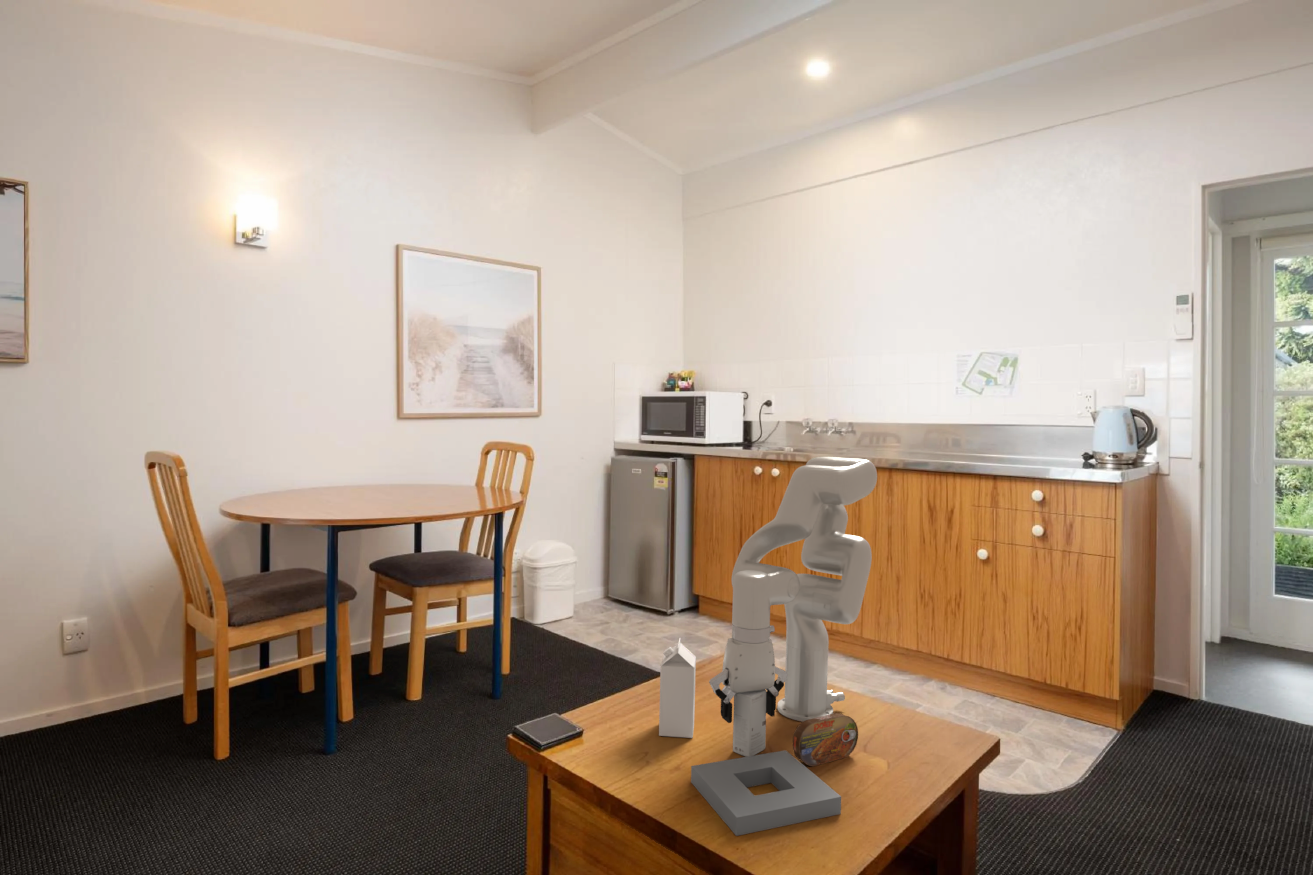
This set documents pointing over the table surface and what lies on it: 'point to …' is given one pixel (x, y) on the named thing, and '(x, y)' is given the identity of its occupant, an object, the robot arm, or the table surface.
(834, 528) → the robot arm
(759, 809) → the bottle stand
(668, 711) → the milk carton
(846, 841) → the table surface
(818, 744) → the tin
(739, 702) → the skincare box
